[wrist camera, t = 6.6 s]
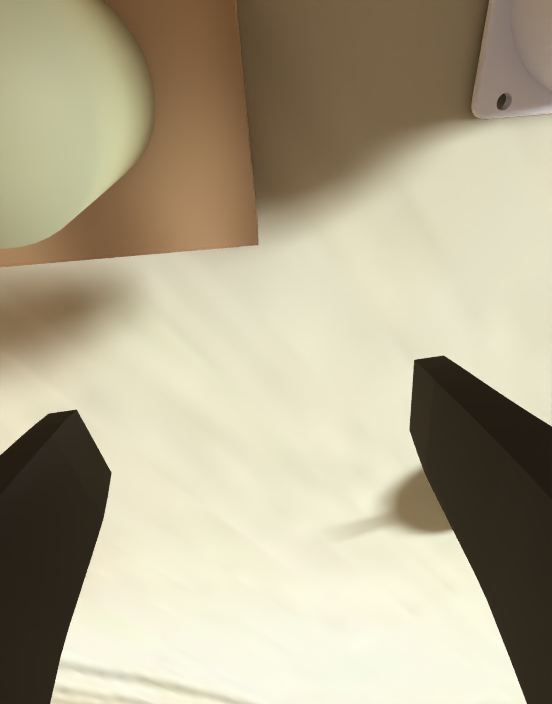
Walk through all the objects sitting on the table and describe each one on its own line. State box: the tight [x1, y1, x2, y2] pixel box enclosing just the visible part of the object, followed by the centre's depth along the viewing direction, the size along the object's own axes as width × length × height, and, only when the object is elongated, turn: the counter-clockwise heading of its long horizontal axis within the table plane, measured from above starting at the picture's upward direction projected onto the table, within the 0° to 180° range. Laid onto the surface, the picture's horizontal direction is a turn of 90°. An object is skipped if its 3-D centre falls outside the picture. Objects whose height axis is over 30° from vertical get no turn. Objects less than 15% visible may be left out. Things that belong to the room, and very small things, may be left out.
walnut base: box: [0, 0, 258, 267], centre depth 13 cm, size 10×10×3 cm
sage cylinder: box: [0, 0, 155, 249], centre depth 9 cm, size 5×5×6 cm
